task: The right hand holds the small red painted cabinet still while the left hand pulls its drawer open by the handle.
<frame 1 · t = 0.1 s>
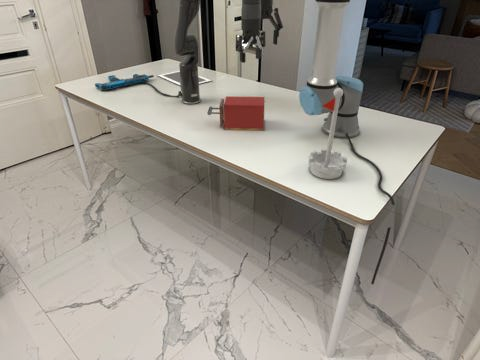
left hand: (250, 60, 137), 29 cm above the table, tool pointing down, fingers open, 8 cm apart
right hand: (263, 45, 167), 28 cm above the table, tool pointing down, fingers open, 13 cm apart
cabinet: (244, 124, 155), on the table
flag stand: (325, 171, 121), on the table
tablet: (184, 78, 216), on the table
drawer: (232, 112, 153), point 6 cm above the table, slide at 0.9 cm
submachine gun: (124, 82, 209), on the table
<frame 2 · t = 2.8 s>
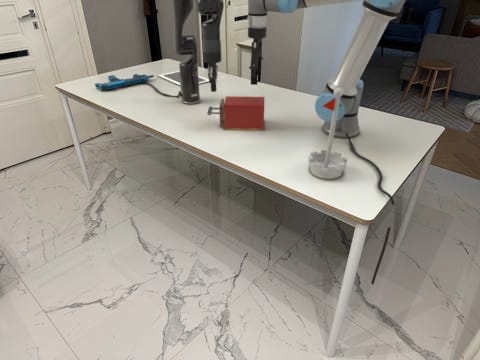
left hand: (213, 91, 148), 16 cm above the table, tool pointing down, fingers closed
right hand: (255, 79, 148), 20 cm above the table, tool pointing down, fingers open, 13 cm apart
nothing on the table moved.
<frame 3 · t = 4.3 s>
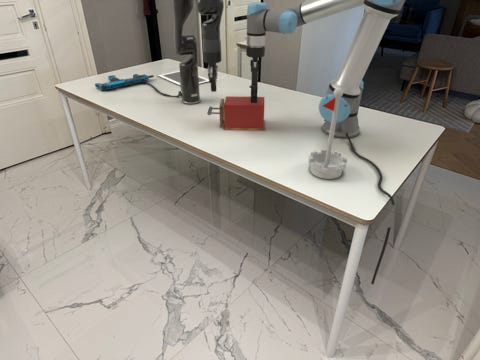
left hand: (213, 91, 148), 16 cm above the table, tool pointing down, fingers closed
right hand: (254, 97, 148), 13 cm above the table, tool pointing down, fingers open, 13 cm apart
nothing on the table moved.
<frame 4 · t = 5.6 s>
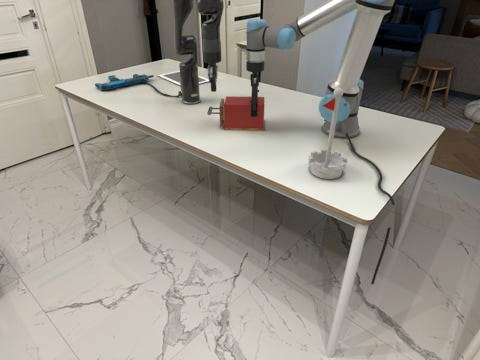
left hand: (213, 91, 148), 16 cm above the table, tool pointing down, fingers closed
right hand: (254, 111, 152), 7 cm above the table, tool pointing down, fingers closed on cabinet, 11 cm apart
cabinet: (244, 124, 155), on the table, touching right hand
everything else where it was.
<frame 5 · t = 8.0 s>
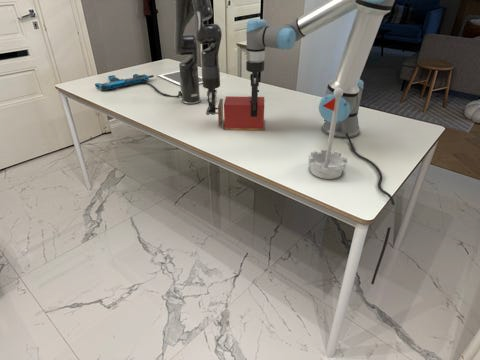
left hand: (213, 114, 153), 5 cm above the table, tool pointing down, fingers closed
right hand: (254, 111, 152), 7 cm above the table, tool pointing down, fingers closed on cabinet, 11 cm apart
cabinet: (244, 124, 155), on the table, touching right hand
drawer: (231, 112, 153), point 6 cm above the table, slide at 1.5 cm, touching left hand
everything else where it was.
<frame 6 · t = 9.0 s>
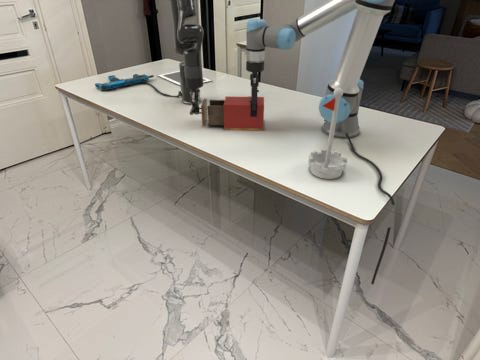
left hand: (197, 113, 154), 5 cm above the table, tool pointing down, fingers closed
right hand: (253, 111, 152), 7 cm above the table, tool pointing down, fingers closed on cabinet, 11 cm apart
cabinet: (244, 124, 155), on the table, touching right hand
drawer: (214, 112, 153), point 6 cm above the table, slide at 8.7 cm, touching left hand
everything else where it was.
when the right hand's fingers open (7 cm above the table, at t = 11.1 s): cabinet stays where it is, on the table.
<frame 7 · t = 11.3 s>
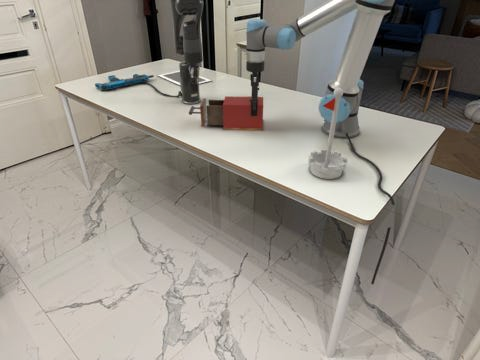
left hand: (196, 91, 148), 15 cm above the table, tool pointing down, fingers closed
right hand: (254, 110, 151), 7 cm above the table, tool pointing down, fingers open, 12 cm apart
cabinet: (243, 124, 155), on the table
drawer: (213, 112, 153), point 6 cm above the table, slide at 8.8 cm
everything else where it was.
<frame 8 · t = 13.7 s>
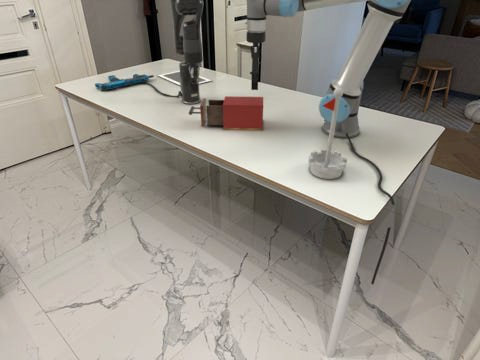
left hand: (196, 91, 148), 15 cm above the table, tool pointing down, fingers closed
right hand: (254, 84, 145), 19 cm above the table, tool pointing down, fingers open, 13 cm apart
nothing on the table moved.
at the end: drawer slide at 8.8 cm; cabinet tilted 0°; cabinet never tilted more than 2° during the clip; cabinet moved 0.5 cm from its start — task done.
